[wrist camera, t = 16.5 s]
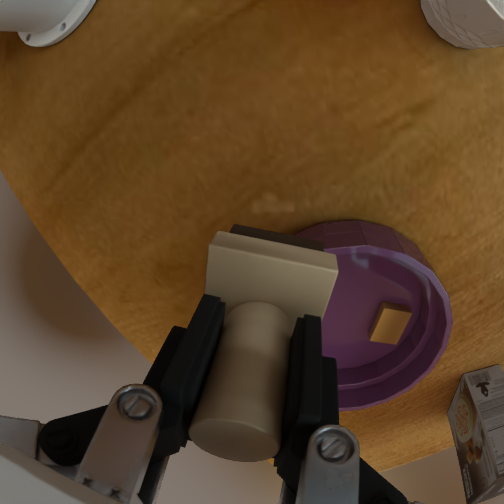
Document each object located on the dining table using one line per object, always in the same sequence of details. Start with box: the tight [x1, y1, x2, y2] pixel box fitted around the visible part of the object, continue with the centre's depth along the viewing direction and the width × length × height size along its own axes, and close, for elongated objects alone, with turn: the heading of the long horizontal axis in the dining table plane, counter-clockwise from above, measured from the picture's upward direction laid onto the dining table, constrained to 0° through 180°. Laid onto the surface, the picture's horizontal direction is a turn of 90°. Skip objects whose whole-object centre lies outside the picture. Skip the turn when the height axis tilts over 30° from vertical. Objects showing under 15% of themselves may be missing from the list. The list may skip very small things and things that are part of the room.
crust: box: [368, 301, 412, 345], centre depth 27 cm, size 3×4×1 cm
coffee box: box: [447, 365, 504, 504], centre depth 24 cm, size 9×6×16 cm
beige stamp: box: [188, 224, 338, 462], centre depth 10 cm, size 6×4×8 cm
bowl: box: [292, 220, 453, 411], centre depth 26 cm, size 18×18×6 cm
